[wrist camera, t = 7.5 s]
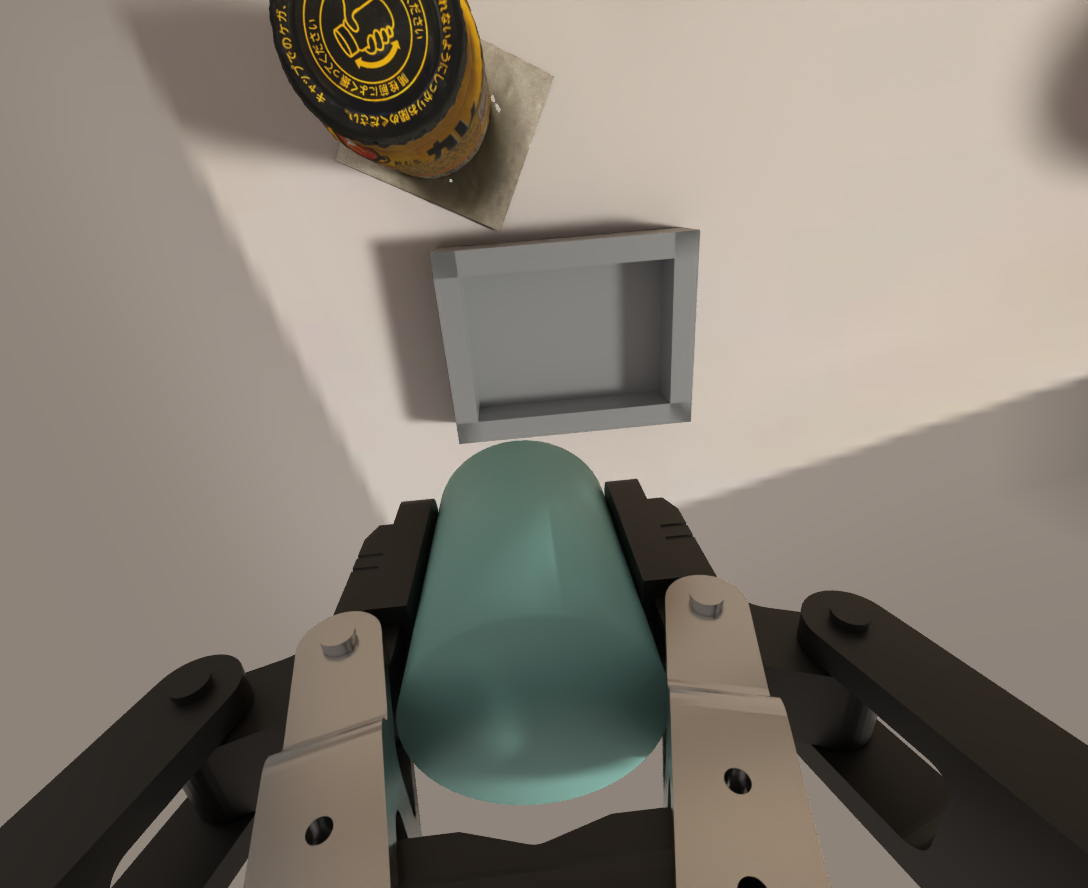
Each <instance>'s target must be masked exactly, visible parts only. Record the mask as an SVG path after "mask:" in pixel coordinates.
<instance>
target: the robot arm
mask: <svg viewBox="0 0 1088 888" xmlns="http://www.w3.org/2000/svg"><path fill="white" fill-rule="evenodd" d="M604 494H605V500H606V503H607V506H608V508H609V511H610V514H611V517H612V520H613V523H614V526H615V529H616V532H617V535H618V537H619V540H620V543H621V546H622V549H623V552H624V555H625V558H626V561H627V564H628V566H629V569H630V572H631V575H632V578H633V581H634V584H635V587H636V590H637V593H638V596H639V598H640V601H641V604H642V607H643V610H644V613H645V615H646V618H647V621H648V624H649V627H650V630H651V633H652V636H653V639H654V642H655V644H656V647H657V650H658V653H659V656H660V659H661V662H662V665H663V668H664V671H665V673H666V700H667V727H666V729H665V731H664V733H663V735H662V753H663V808H656V809H648V810H640V811H631V812H623V813H615V814H610V815H608V816H605V817H603V818H601V819H599V820H596V821H594V822H591V823H589V824H587V825H585V826H582V827H580V828H578V829H575V830H573V831H571V832H568V833H566V834H564V835H561V836H559V837H557V838H554V839H552V840H550V841H547V842H545V843H542V844H537V845H530V844H523V843H518V842H512V841H507V840H501V839H495V838H490V837H484V836H479V835H473V834H467V833H461V832H457V833H449V834H440V835H431V836H423V837H422V831H421V824H420V814H419V805H418V796H417V787H416V778H415V770H414V762H413V761H412V760H411V759H410V758H409V756H408V754H407V753H406V751H405V749H404V748H403V745H402V743H401V740H400V738H399V735H398V730H397V724H396V710H397V705H398V700H399V695H400V691H401V686H402V681H403V677H404V672H405V667H406V663H407V658H408V653H409V649H410V644H411V639H412V635H413V630H414V625H415V620H416V616H417V611H418V606H419V602H420V597H421V592H422V588H423V583H424V578H425V574H426V569H427V564H428V559H429V555H430V550H431V545H432V541H433V536H434V531H435V527H436V522H437V517H438V507H437V504H436V501H435V499H426V500H416V501H406V502H401V504H400V506H399V509H398V512H397V515H396V518H395V521H394V524H390V525H381V526H379V527H378V528H377V529H376V530H375V531H373V532H372V533H371V534H370V535H369V536H368V537H367V538H366V539H365V541H364V543H363V545H362V548H361V550H360V552H359V555H358V559H357V560H356V562H355V565H354V567H353V572H351V574H350V577H349V579H348V581H347V584H346V586H345V589H344V591H343V594H342V596H341V598H340V601H339V603H338V605H337V608H336V611H335V613H334V615H333V616H331V617H329V618H327V619H325V620H323V621H322V622H320V623H318V624H317V625H316V626H314V627H313V628H311V629H310V630H309V631H308V632H307V633H306V634H305V636H303V638H302V639H301V641H300V642H299V644H298V646H297V649H296V653H295V655H293V656H291V657H289V658H286V659H284V660H281V661H278V662H275V663H272V664H269V665H267V666H264V667H261V668H258V669H255V670H252V671H249V672H246V673H245V671H244V669H243V667H242V665H241V663H240V661H239V660H238V659H236V658H234V657H233V656H229V655H212V656H206V657H203V658H200V659H197V660H194V661H192V662H190V663H187V664H185V665H184V666H181V667H180V668H178V669H176V670H175V671H173V672H172V673H170V674H169V675H167V676H166V677H165V678H164V679H163V680H161V681H160V682H159V683H158V684H157V685H156V686H155V687H153V688H152V689H151V690H150V691H149V692H148V693H147V694H146V695H145V696H144V697H143V698H142V699H140V700H139V701H138V702H137V703H136V704H135V705H134V706H133V707H132V708H131V709H130V710H128V711H127V712H126V713H125V714H124V715H123V716H122V717H121V718H120V719H119V720H117V721H116V722H115V723H114V724H113V725H112V726H111V727H110V728H109V729H108V730H106V731H105V732H104V733H103V734H102V735H101V736H100V737H99V738H98V739H97V740H96V741H95V742H93V743H92V744H91V745H90V746H89V747H88V748H87V749H86V750H85V751H84V752H82V753H81V754H80V755H79V756H78V757H77V758H76V759H75V760H74V761H73V762H72V763H70V764H69V765H68V766H67V767H66V768H65V769H64V770H63V771H62V772H61V773H60V774H59V775H57V776H56V777H55V778H54V779H53V780H52V781H51V782H50V783H49V784H48V785H46V786H45V787H44V788H43V789H42V790H41V791H40V792H39V793H38V794H37V795H35V796H34V797H33V798H32V799H31V800H30V801H29V802H28V803H27V804H26V805H25V806H24V807H22V808H21V809H20V810H19V811H18V812H17V813H16V814H15V815H14V816H13V817H11V818H10V819H9V820H8V821H7V822H6V823H5V824H4V825H3V826H2V827H1V828H0V888H110V884H111V880H112V877H113V874H114V872H115V870H116V868H117V866H118V864H119V862H120V861H121V859H122V858H123V856H124V855H125V854H126V853H127V851H128V850H129V849H130V848H131V847H132V845H133V844H134V843H135V842H136V841H137V840H138V839H139V837H140V836H141V835H142V834H143V833H144V831H145V830H146V829H147V828H148V827H149V826H150V825H151V823H152V822H153V821H154V820H155V819H156V818H157V816H158V815H159V814H160V813H161V812H162V811H163V810H164V808H165V807H166V806H167V805H168V804H169V802H170V801H171V800H172V799H173V798H174V797H175V796H176V794H177V793H178V792H179V791H180V790H181V789H182V788H183V790H184V792H185V793H186V795H187V798H186V800H185V801H184V802H183V803H182V804H181V805H180V807H179V808H178V809H177V810H176V811H175V813H174V814H173V815H172V816H171V817H170V819H169V820H168V821H167V822H166V823H165V825H164V826H163V827H162V828H161V829H160V830H159V832H158V833H157V834H156V835H155V836H154V838H153V839H152V840H151V841H150V842H149V844H148V845H147V846H146V847H145V848H144V850H143V851H142V852H141V853H140V854H139V855H138V857H137V858H136V859H135V860H134V861H133V863H132V864H131V865H130V866H129V867H128V869H127V870H126V871H125V872H124V873H123V875H122V876H121V877H120V878H119V879H118V881H117V882H116V883H115V884H114V885H113V887H112V888H228V887H229V885H230V884H231V882H232V881H233V879H234V878H235V876H236V875H237V873H238V872H239V871H240V869H241V867H242V866H243V865H244V863H245V862H246V860H247V859H248V862H247V868H246V874H245V880H244V886H243V888H831V885H830V882H829V877H828V873H827V870H826V866H825V862H824V858H823V854H822V850H821V846H820V842H819V838H818V834H817V830H816V826H815V823H814V819H813V815H812V811H811V807H810V803H809V799H808V796H807V791H806V787H805V784H804V779H803V775H802V771H801V768H800V764H799V760H798V756H797V754H798V755H799V756H800V757H801V758H802V759H803V761H804V762H805V763H806V764H807V765H808V766H809V767H810V768H811V769H812V770H813V771H814V772H815V774H816V775H817V776H818V777H819V778H820V779H821V780H822V781H823V782H824V783H825V784H826V786H828V788H829V789H830V790H831V791H832V792H833V793H834V794H835V795H836V796H837V798H838V799H839V800H840V801H841V802H842V803H843V804H844V805H845V806H846V807H847V808H848V809H849V811H850V812H851V813H852V814H853V815H854V816H855V817H856V818H857V819H858V820H859V821H860V822H861V823H862V825H863V826H864V827H865V828H866V829H867V830H868V831H869V832H870V833H871V834H872V835H873V837H874V838H875V839H876V840H877V841H878V842H879V843H880V844H881V845H882V846H883V847H884V848H885V849H886V851H887V852H888V853H889V854H890V855H891V856H892V857H893V858H894V859H895V860H896V861H897V863H898V864H899V865H900V866H901V867H902V868H903V869H904V870H905V871H906V872H907V873H908V874H909V875H910V877H911V878H912V879H913V880H914V881H915V882H916V883H917V884H918V885H919V886H920V887H921V888H1088V745H1086V744H1085V743H1083V742H1082V741H1080V740H1079V739H1077V738H1076V737H1074V736H1073V735H1071V734H1070V733H1068V732H1067V731H1065V730H1064V729H1062V728H1061V727H1059V726H1058V725H1056V724H1055V723H1053V722H1052V721H1050V720H1049V719H1047V718H1046V717H1044V716H1043V715H1041V714H1040V713H1039V712H1037V711H1035V710H1034V709H1033V708H1031V707H1030V706H1028V705H1027V704H1025V703H1024V702H1022V701H1020V700H1019V699H1018V698H1016V697H1015V696H1013V695H1011V694H1010V693H1009V692H1007V691H1006V690H1004V689H1003V688H1001V687H1000V686H998V685H997V684H995V683H994V682H992V681H991V680H989V679H988V678H986V677H985V676H983V675H982V674H980V673H979V672H977V671H976V670H974V669H973V668H971V667H970V666H968V665H967V664H965V663H964V662H962V661H961V660H960V659H958V658H956V657H955V656H953V655H952V654H951V653H949V652H948V651H946V650H944V649H943V648H942V647H940V646H939V645H937V644H936V643H934V642H933V641H931V640H930V639H928V638H927V637H925V636H924V635H922V634H921V633H919V632H918V631H916V630H915V629H913V628H912V627H910V626H909V625H907V624H906V623H904V622H903V621H901V620H900V619H898V618H897V617H895V616H894V615H892V614H891V613H889V612H888V611H886V610H885V609H883V608H882V607H880V606H879V605H877V604H875V603H874V602H872V601H870V600H868V599H866V598H864V597H861V596H858V595H855V594H852V593H848V592H842V591H821V592H817V593H814V594H812V595H810V596H808V597H807V598H806V599H805V600H804V602H803V603H802V607H801V612H795V611H787V610H780V609H773V608H766V607H761V606H757V605H754V604H751V603H748V601H747V599H746V597H745V595H744V594H743V593H742V592H741V591H740V590H739V589H738V588H737V587H736V586H734V585H733V584H731V583H730V582H727V581H725V580H723V579H720V578H717V576H716V574H715V573H714V571H713V569H712V567H711V566H710V564H709V562H708V561H707V559H706V557H705V555H704V553H703V552H702V550H701V548H700V546H699V545H698V543H697V541H696V540H695V538H694V537H693V535H692V532H691V531H690V529H689V527H688V526H687V525H686V522H685V520H684V519H683V517H682V515H681V513H680V512H679V510H678V508H676V507H675V506H674V505H672V504H671V503H669V502H668V501H666V500H665V499H664V498H652V499H647V498H646V496H645V494H644V492H643V490H642V487H641V485H640V483H639V481H638V480H637V479H630V480H620V481H610V482H605V488H604ZM877 716H879V717H880V718H881V719H882V720H883V721H885V722H886V723H887V724H888V725H889V726H890V727H891V728H893V729H894V730H895V731H896V732H897V733H899V734H900V735H901V736H902V737H903V738H904V739H905V740H906V741H908V742H909V743H910V744H911V745H912V746H913V747H915V748H916V749H917V750H918V751H919V752H920V753H922V754H923V755H924V756H925V757H926V758H927V759H928V760H930V762H932V764H933V765H934V766H935V767H936V768H937V769H938V770H939V772H940V773H941V775H942V776H943V777H942V776H941V775H940V774H939V773H938V772H937V771H935V770H934V769H933V768H932V767H931V766H930V765H929V764H927V763H926V762H925V761H924V760H923V759H922V758H921V757H919V756H918V755H917V754H916V753H915V752H914V751H913V750H911V749H910V748H909V747H908V746H907V745H905V743H903V742H902V741H901V740H900V739H899V738H898V737H896V736H895V735H894V734H893V733H892V732H891V731H890V730H888V729H887V728H886V727H885V726H884V725H882V723H880V722H879V721H878V720H877Z"/></svg>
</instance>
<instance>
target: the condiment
mask: <svg viewBox="0 0 1088 888" xmlns="http://www.w3.org/2000/svg"><path fill="white" fill-rule="evenodd" d="M269 12H270V22H271V26H272V29H273V38H274V45H275V48H276V51H277V53H278V56H279V59H280V62H281V64H282V68H283V70H284V72H285V74H286V76H287V78H288V81H289V83H290V84H291V85H292V87H293V89H294V90H295V92H296V93H297V94H298V96H299V97H300V98H301V100H302V101H303V103H304V104H305V106H306V107H307V108H308V109H309V110H310V111H311V112H312V113H313V114H314V115H315V116H316V117H317V118H318V119H319V120H320V121H321V122H322V123H323V124H324V126H325V127H326V128H327V130H328V131H329V132H330V133H331V134H332V135H333V137H334V138H335V139H336V140H338V141H340V143H339V147H338V152H337V157H336V161H338V162H341V163H343V164H345V165H348V166H350V167H352V168H354V169H357V170H359V171H361V172H364V173H366V174H368V175H371V176H373V177H375V178H378V179H380V180H382V181H385V182H387V183H389V184H392V185H394V186H396V187H398V188H401V189H403V190H405V191H408V192H410V193H412V194H415V195H417V196H419V197H421V198H424V199H426V200H428V201H431V202H433V203H435V204H438V205H440V206H442V207H445V208H447V209H449V210H451V211H454V212H456V213H459V214H461V215H463V216H465V217H468V218H470V219H472V220H475V221H477V222H479V223H481V224H484V225H486V226H488V227H491V228H493V229H495V230H498V231H500V230H501V227H502V224H503V221H504V219H505V215H506V213H507V210H508V207H509V204H510V201H511V198H512V195H513V193H514V190H515V186H516V184H517V181H518V178H519V175H520V172H521V169H522V167H523V164H524V161H525V158H526V155H527V152H528V149H529V145H530V144H531V141H532V138H533V135H534V132H535V129H536V126H537V123H538V121H539V118H540V115H541V112H542V109H543V106H544V103H545V100H546V98H547V95H548V92H549V89H550V86H551V83H552V80H553V77H554V76H552V75H550V74H548V73H546V72H544V71H543V70H541V69H539V68H537V67H535V66H533V65H531V64H529V63H527V62H525V61H523V60H521V59H519V58H518V57H516V56H514V55H512V54H510V53H507V52H505V51H503V50H501V49H500V48H498V47H496V46H494V45H492V44H490V43H488V42H486V41H484V40H482V39H480V37H479V35H478V31H477V27H476V23H475V21H474V18H473V16H472V14H471V10H470V6H469V4H468V2H467V0H270V6H269ZM492 94H493V95H494V97H495V100H496V101H495V103H497V104H498V105H499V107H500V108H501V111H500V113H498V111H497V110H496V108H495V103H494V102H492V101H491V98H490V97H491V95H492ZM450 179H452V180H453V182H449V180H450Z"/></svg>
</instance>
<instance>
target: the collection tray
mask: <svg viewBox="0 0 1088 888" xmlns="http://www.w3.org/2000/svg"><path fill="white" fill-rule="evenodd" d="M699 241H700V230H697V229H690V228H683V227H678V228H666V229H655V230H643V231H631V232H620V233H608V234H596V235H585V236H573V237H561V238H550V239H538V240H527V241H515V242H503V243H492V244H480V245H468V246H457V247H445V248H436V249H435V250H433V251H432V252H430V253H429V256H430V262H431V268H432V274H433V281H434V287H435V293H436V299H437V306H438V312H439V318H440V324H441V331H442V337H443V343H444V349H445V356H446V362H447V368H448V374H449V381H450V387H451V393H452V399H453V406H454V412H455V418H456V424H457V431H458V437H459V443H460V444H465V443H475V442H485V441H495V440H506V439H516V438H526V437H536V436H547V435H557V434H567V433H577V432H588V431H598V430H608V429H619V428H629V427H639V426H649V425H660V424H670V423H680V422H690V421H691V405H692V385H693V364H694V344H695V323H696V303H697V282H698V261H699Z"/></svg>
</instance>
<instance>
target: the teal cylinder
mask: <svg viewBox="0 0 1088 888" xmlns="http://www.w3.org/2000/svg"><path fill="white" fill-rule="evenodd" d="M396 724H397V730H398V735H399V738H400V740H401V743H402V745H403V748H404V749H405V751H406V753H407V754H408V756H409V758H410V759H411V760H412V761H413V762H414V764H415V765H416V766H417V767H418V768H419V769H420V770H421V771H422V772H424V773H425V774H426V775H427V776H428V777H429V778H431V779H433V780H434V781H435V782H437V783H438V784H440V785H442V786H444V787H445V788H448V789H449V790H451V791H454V792H456V793H459V794H461V795H464V796H467V797H470V798H474V799H477V800H481V801H486V802H492V803H498V804H509V805H536V804H546V803H554V802H560V801H565V800H569V799H573V798H577V797H580V796H583V795H586V794H589V793H592V792H594V791H597V790H599V789H601V788H604V787H606V786H608V785H610V784H611V783H613V782H615V781H617V780H619V779H621V778H622V777H623V776H625V775H626V774H628V773H629V772H631V771H632V770H633V769H634V768H636V767H637V766H638V765H639V764H640V763H642V762H643V761H644V760H645V759H646V757H647V756H648V755H649V754H650V753H651V752H652V751H653V749H654V748H655V747H656V745H657V744H658V742H659V741H660V739H661V737H662V735H663V733H664V731H665V729H666V727H667V700H666V673H665V671H664V668H663V665H662V662H661V659H660V656H659V653H658V650H657V647H656V644H655V642H654V639H653V636H652V633H651V630H650V627H649V624H648V621H647V618H646V615H645V613H644V610H643V607H642V604H641V601H640V598H639V596H638V593H637V590H636V587H635V584H634V581H633V578H632V575H631V572H630V569H629V566H628V564H627V561H626V558H625V555H624V552H623V549H622V546H621V543H620V540H619V537H618V535H617V532H616V529H615V526H614V523H613V520H612V517H611V514H610V511H609V508H608V506H607V503H606V500H605V497H604V494H603V491H602V488H601V486H600V484H599V481H598V480H597V478H596V476H595V475H594V473H593V472H592V471H591V469H590V468H589V467H588V466H587V465H586V464H585V463H584V462H583V461H582V460H581V459H579V458H578V457H577V456H575V455H574V454H572V453H571V452H569V451H567V450H565V449H563V448H561V447H558V446H555V445H552V444H549V443H544V442H539V441H528V440H524V441H511V442H505V443H501V444H497V445H494V446H491V447H489V448H486V449H484V450H482V451H480V452H478V453H477V454H475V455H473V456H472V457H470V458H469V459H468V460H466V461H465V462H464V463H463V464H462V465H461V466H460V467H459V468H458V469H457V470H456V471H455V472H454V474H453V475H452V476H451V478H450V479H449V481H448V483H447V485H446V487H445V489H444V492H443V495H442V499H441V503H440V508H439V513H438V517H437V522H436V527H435V531H434V536H433V541H432V545H431V550H430V555H429V559H428V564H427V569H426V574H425V578H424V583H423V588H422V592H421V597H420V602H419V606H418V611H417V616H416V620H415V625H414V630H413V635H412V639H411V644H410V649H409V653H408V658H407V663H406V667H405V672H404V677H403V681H402V686H401V691H400V695H399V700H398V705H397V710H396Z"/></svg>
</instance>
